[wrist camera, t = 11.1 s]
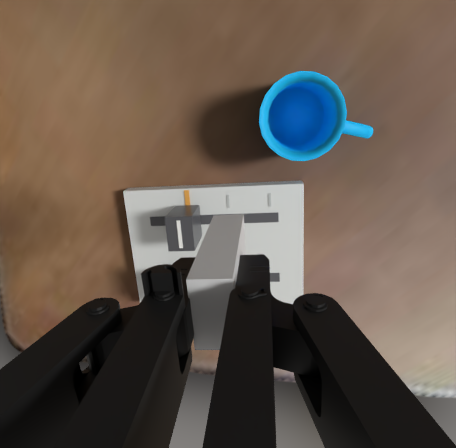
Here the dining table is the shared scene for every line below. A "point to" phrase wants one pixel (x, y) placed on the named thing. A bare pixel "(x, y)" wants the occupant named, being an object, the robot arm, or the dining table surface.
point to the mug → (305, 116)
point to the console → (225, 205)
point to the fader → (183, 228)
